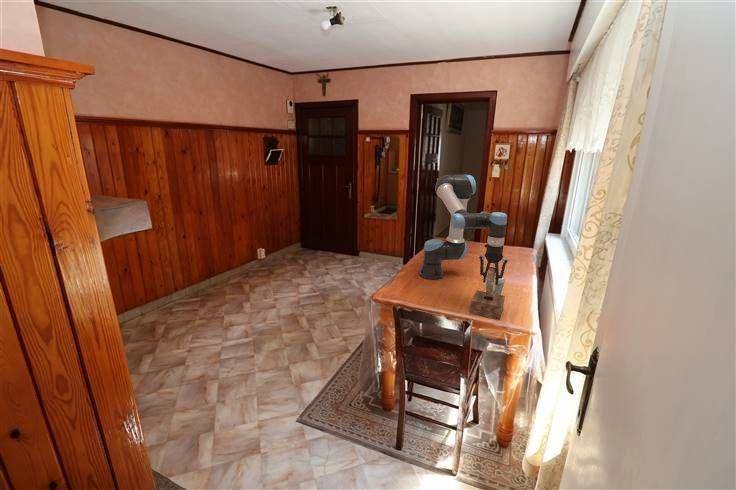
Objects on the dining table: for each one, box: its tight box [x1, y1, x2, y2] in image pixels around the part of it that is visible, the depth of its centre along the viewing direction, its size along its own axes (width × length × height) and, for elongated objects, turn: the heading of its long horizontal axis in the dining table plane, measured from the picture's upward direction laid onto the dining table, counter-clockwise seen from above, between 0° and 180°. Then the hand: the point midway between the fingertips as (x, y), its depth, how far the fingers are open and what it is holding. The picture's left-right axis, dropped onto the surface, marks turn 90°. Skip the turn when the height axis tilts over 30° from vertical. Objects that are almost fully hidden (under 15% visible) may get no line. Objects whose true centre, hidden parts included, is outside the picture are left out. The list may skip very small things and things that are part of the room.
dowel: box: [485, 266, 496, 295], centre depth 166 cm, size 3×3×14 cm
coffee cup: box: [493, 274, 506, 295], centre depth 185 cm, size 8×9×12 cm
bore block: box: [469, 290, 506, 321], centre depth 170 cm, size 14×14×7 cm
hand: (489, 289), depth 168 cm, fingers closed on dowel, 3 cm apart
